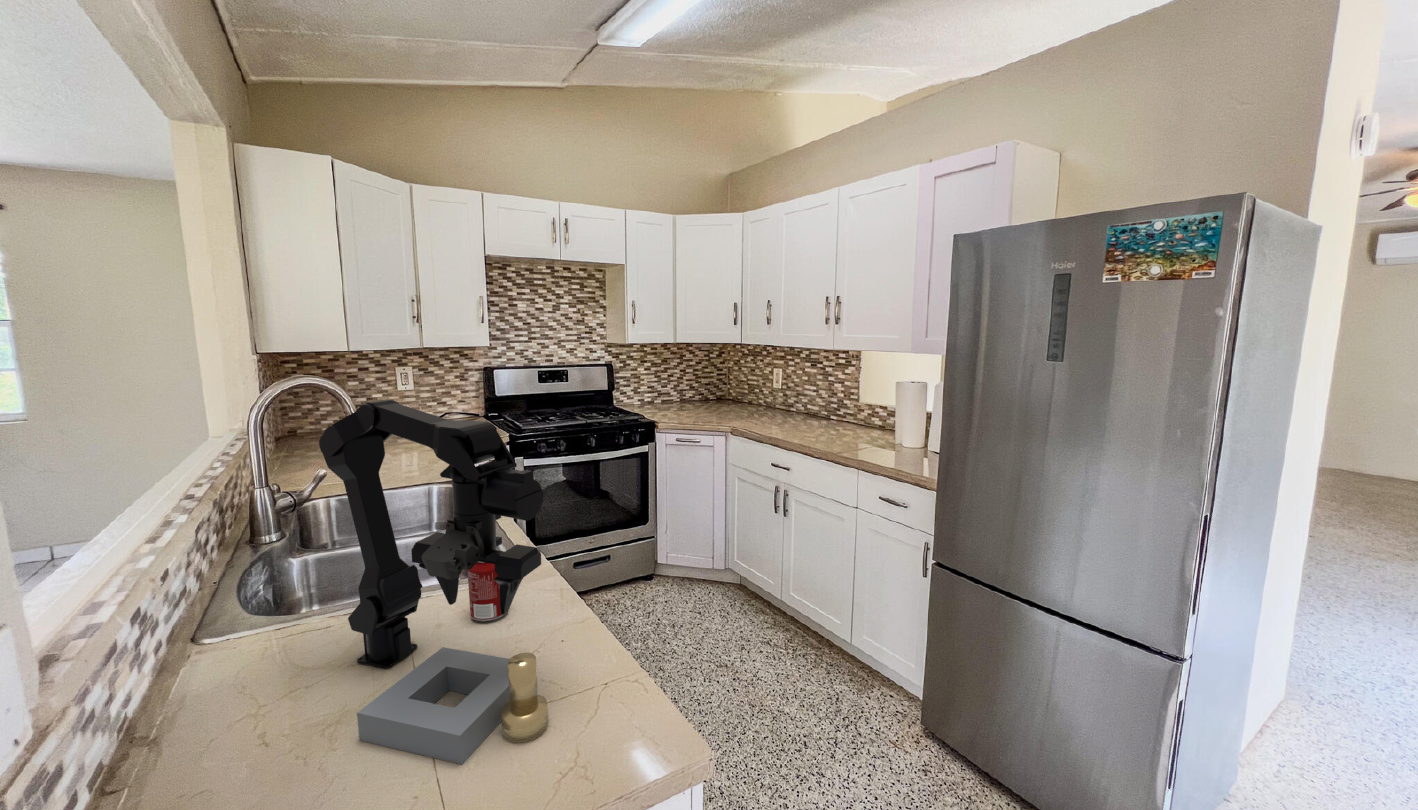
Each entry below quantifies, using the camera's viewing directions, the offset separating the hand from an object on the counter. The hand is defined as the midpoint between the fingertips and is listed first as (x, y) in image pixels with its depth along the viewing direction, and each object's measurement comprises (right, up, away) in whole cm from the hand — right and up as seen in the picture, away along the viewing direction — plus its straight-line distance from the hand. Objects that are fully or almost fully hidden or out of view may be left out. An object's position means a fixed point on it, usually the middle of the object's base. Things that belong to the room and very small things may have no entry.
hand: (478, 608), depth 86 cm
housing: (-2, -13, -4) cm, 14 cm away
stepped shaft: (+10, -14, -8) cm, 18 cm away
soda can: (-7, -10, +23) cm, 26 cm away
